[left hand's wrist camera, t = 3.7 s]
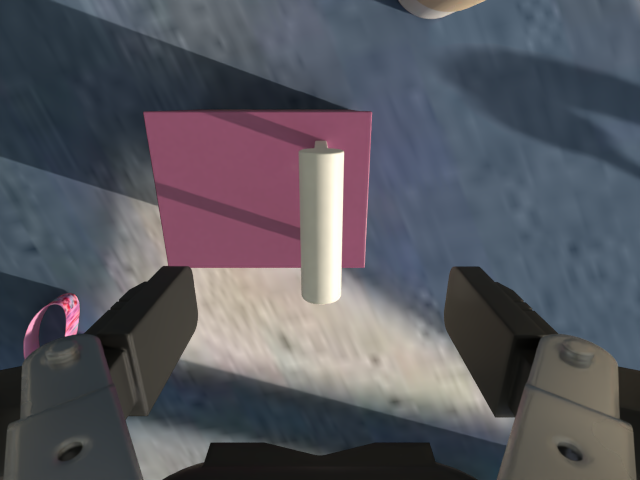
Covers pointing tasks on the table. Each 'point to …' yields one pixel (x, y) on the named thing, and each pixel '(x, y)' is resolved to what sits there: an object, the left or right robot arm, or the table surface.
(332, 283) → the lid
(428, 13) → the coffee cup
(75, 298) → the headband
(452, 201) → the table surface
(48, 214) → the table surface
